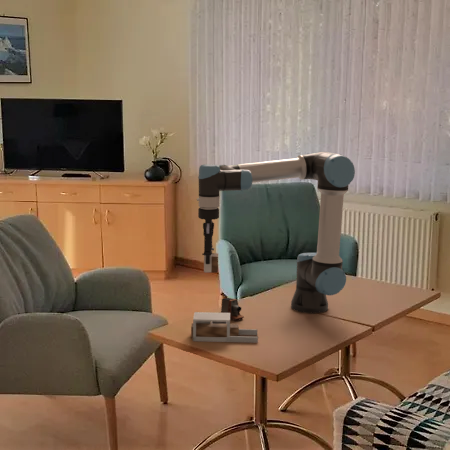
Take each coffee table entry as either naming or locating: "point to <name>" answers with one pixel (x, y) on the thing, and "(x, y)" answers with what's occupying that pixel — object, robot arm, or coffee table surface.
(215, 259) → the block
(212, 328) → the rod
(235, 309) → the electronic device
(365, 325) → the coffee table surface
